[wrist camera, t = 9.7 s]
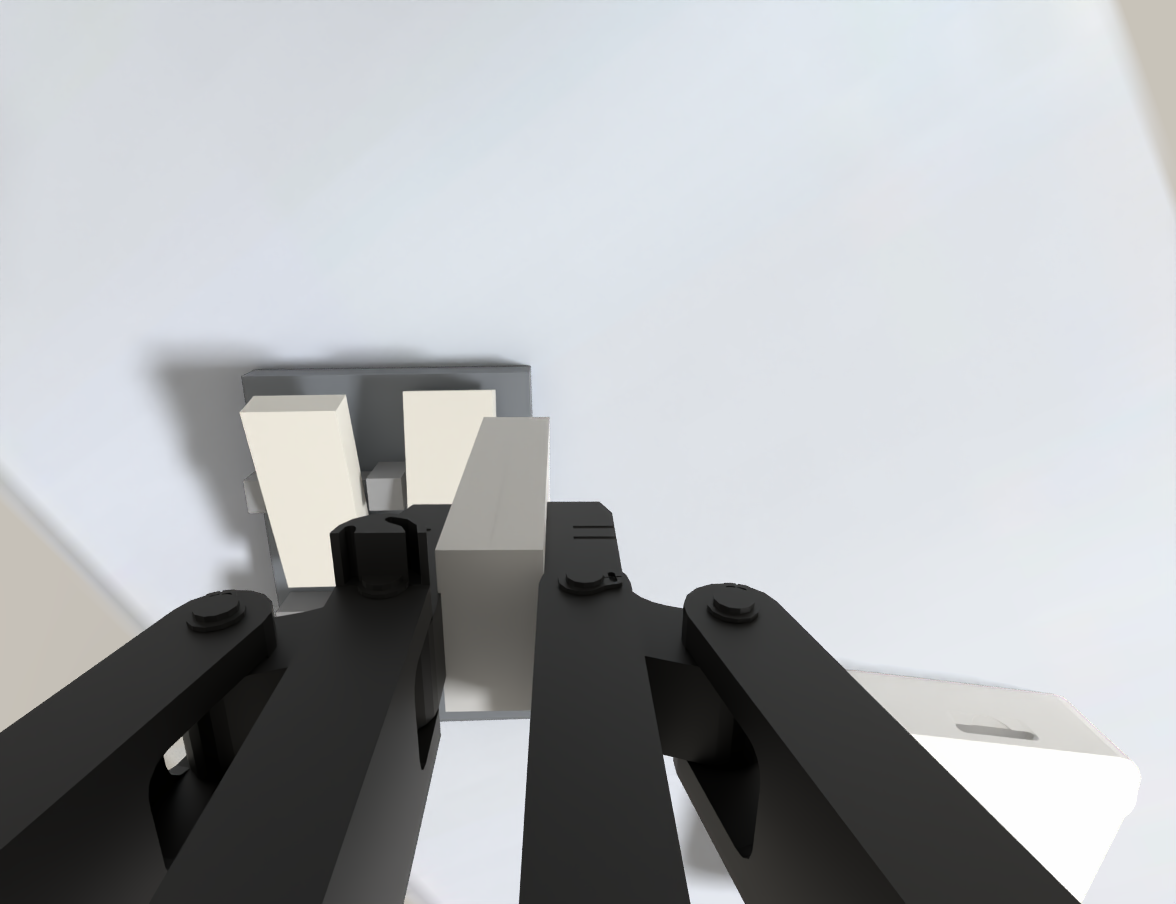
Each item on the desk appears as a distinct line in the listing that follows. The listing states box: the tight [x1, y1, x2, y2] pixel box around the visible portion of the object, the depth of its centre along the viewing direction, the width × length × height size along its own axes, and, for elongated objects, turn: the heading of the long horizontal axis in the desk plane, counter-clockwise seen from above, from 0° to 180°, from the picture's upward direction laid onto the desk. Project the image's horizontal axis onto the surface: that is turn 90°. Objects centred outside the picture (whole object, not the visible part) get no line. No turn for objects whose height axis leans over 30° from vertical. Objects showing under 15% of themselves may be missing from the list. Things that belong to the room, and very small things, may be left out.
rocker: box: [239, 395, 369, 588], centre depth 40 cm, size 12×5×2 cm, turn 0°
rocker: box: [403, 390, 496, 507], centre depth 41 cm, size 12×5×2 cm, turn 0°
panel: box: [241, 366, 532, 722], centre depth 45 cm, size 25×17×5 cm
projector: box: [846, 670, 1141, 903], centre depth 53 cm, size 21×22×7 cm
